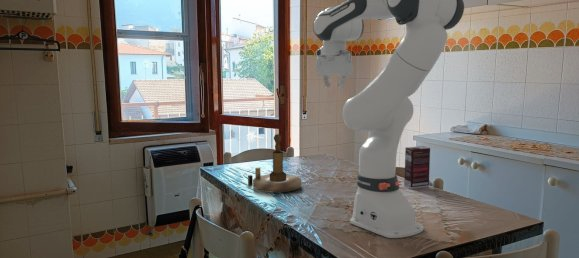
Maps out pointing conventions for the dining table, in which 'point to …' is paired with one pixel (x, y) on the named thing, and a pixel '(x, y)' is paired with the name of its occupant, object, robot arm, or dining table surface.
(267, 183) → the turntable
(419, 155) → the supplement box
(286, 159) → the dining table surface
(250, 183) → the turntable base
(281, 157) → the brown wooden upright piece
